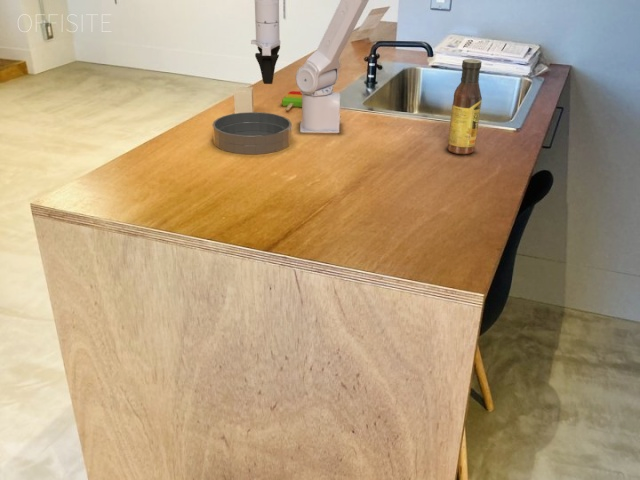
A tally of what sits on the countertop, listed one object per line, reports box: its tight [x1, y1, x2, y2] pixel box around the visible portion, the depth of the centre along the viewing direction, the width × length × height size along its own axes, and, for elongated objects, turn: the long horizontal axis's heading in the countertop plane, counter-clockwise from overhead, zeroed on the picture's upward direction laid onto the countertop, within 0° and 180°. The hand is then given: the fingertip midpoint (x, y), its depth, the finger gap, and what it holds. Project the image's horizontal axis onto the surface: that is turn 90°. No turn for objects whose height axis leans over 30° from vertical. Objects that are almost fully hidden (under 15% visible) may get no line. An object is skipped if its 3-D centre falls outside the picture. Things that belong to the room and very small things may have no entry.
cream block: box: [233, 86, 255, 114], centre depth 171 cm, size 4×4×8 cm
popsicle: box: [281, 90, 302, 111], centre depth 185 cm, size 6×15×2 cm, turn 169°
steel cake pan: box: [212, 111, 293, 155], centre depth 158 cm, size 18×18×4 cm
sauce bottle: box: [447, 58, 483, 155], centre depth 152 cm, size 7×6×20 cm
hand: (268, 79), depth 171 cm, fingers open, 7 cm apart
